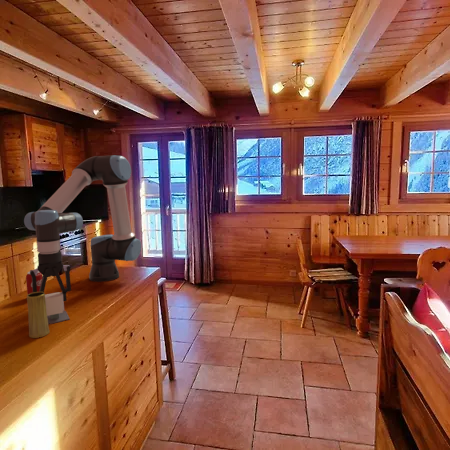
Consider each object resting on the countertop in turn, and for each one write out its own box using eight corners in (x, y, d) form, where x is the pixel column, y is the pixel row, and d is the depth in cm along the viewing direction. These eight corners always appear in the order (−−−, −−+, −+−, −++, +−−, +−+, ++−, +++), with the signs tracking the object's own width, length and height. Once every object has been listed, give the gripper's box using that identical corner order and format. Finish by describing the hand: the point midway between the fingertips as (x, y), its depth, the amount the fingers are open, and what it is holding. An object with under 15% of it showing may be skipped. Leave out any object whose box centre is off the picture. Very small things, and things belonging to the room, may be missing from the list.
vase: (34, 330, 111) (31, 291, 109) (52, 329, 112) (49, 290, 110) (25, 338, 105) (21, 297, 103) (44, 338, 106) (40, 297, 104)
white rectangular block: (60, 308, 124) (59, 292, 123) (62, 312, 120) (61, 295, 119) (45, 311, 121) (44, 294, 120) (47, 315, 117) (45, 298, 116)
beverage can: (36, 300, 138) (34, 274, 137) (24, 299, 140) (21, 273, 138) (47, 295, 144) (45, 270, 143) (35, 294, 146) (33, 269, 144)
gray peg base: (65, 311, 127) (64, 294, 126) (69, 319, 120) (68, 301, 119) (40, 317, 122) (38, 299, 121) (42, 325, 115) (40, 307, 114)
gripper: (74, 247, 125) (77, 303, 128) (19, 253, 115) (25, 313, 118) (77, 250, 119) (81, 309, 122) (20, 257, 109) (26, 320, 112)
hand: (53, 311), depth 120 cm, fingers closed on white rectangular block, 5 cm apart
